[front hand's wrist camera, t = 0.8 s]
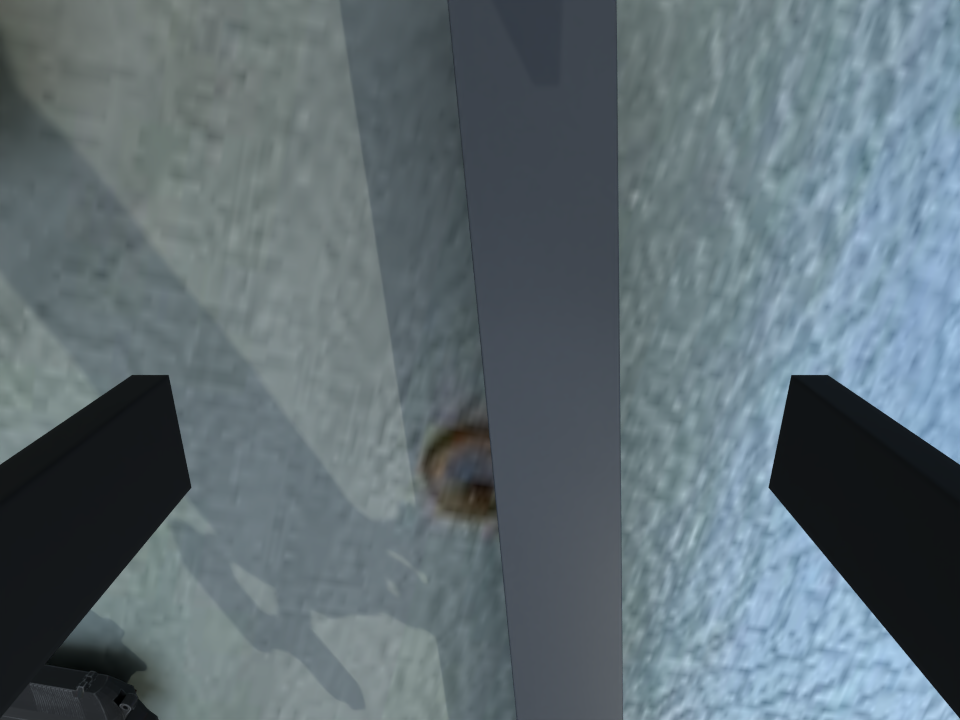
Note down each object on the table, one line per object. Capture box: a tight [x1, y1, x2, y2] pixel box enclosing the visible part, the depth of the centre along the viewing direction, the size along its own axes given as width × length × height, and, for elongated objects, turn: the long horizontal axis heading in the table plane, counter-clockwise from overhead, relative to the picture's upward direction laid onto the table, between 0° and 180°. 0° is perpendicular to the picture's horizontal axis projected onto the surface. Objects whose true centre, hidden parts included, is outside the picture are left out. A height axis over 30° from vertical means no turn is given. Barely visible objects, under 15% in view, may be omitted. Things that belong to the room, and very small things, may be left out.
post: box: [448, 0, 623, 720], centre depth 30 cm, size 63×5×8 cm, turn 5°
